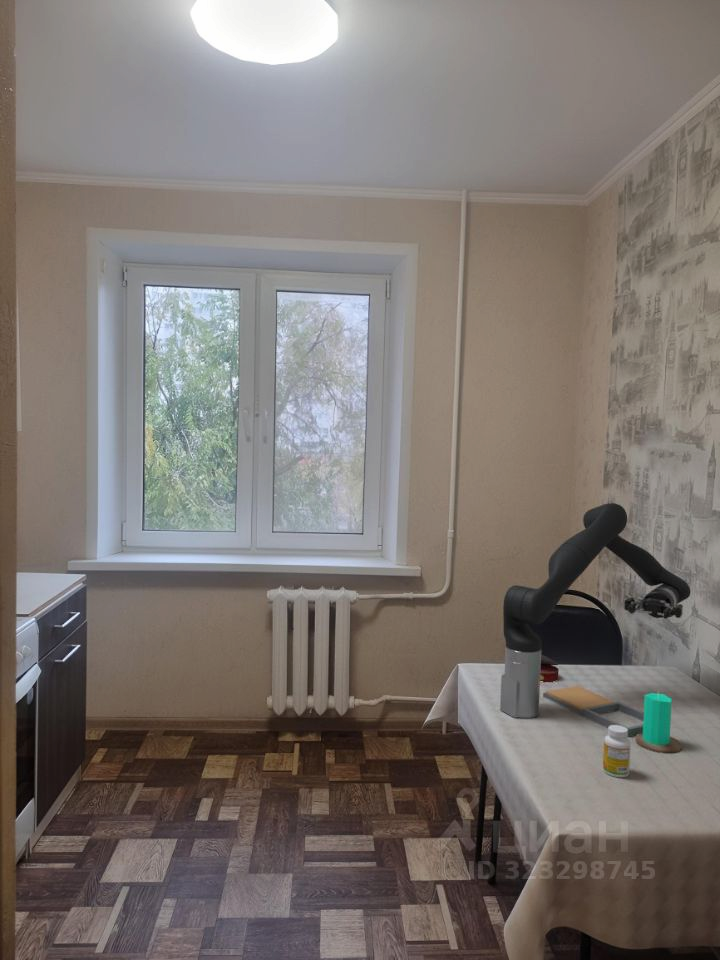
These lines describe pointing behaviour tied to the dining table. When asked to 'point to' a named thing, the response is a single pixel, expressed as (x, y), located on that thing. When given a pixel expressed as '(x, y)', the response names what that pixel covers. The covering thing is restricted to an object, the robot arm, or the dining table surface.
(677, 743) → the coaster
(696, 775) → the dining table surface
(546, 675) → the canned food
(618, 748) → the supplement bottle
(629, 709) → the case
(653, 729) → the candle
